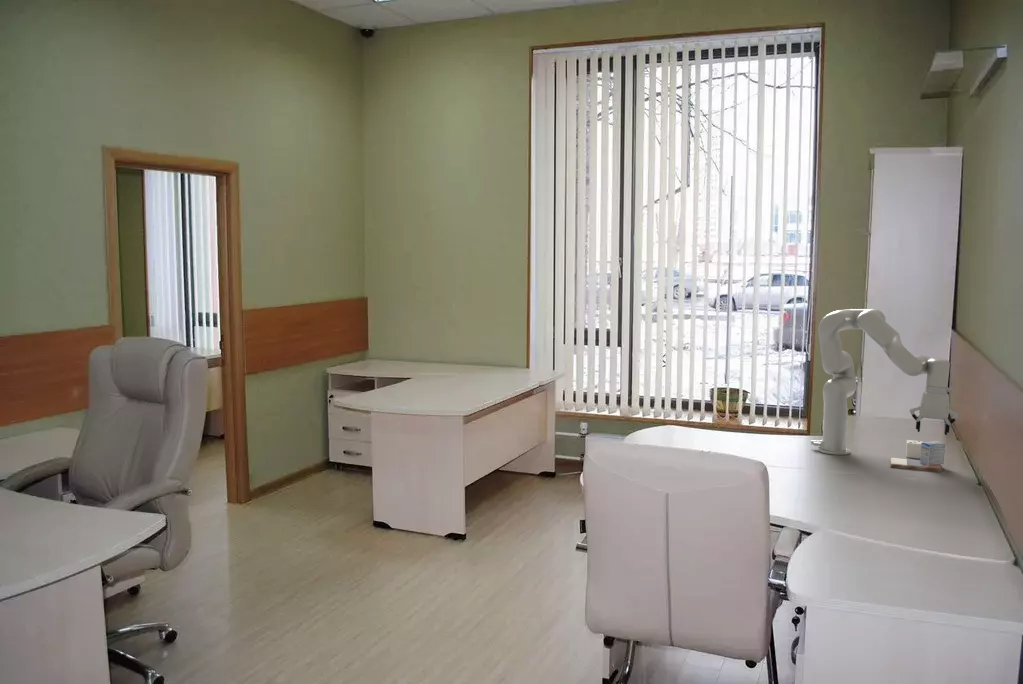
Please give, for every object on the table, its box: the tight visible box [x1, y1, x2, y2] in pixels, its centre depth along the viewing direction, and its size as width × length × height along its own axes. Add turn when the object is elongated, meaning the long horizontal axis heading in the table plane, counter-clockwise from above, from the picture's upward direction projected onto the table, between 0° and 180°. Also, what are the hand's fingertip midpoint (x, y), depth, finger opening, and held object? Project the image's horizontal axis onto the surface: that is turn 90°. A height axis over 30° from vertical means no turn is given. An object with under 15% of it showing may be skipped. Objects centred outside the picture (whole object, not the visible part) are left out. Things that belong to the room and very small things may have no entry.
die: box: [905, 439, 924, 459], centre depth 357 cm, size 6×6×6 cm
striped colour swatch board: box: [890, 457, 942, 473], centre depth 341 cm, size 18×12×1 cm, turn 66°
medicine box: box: [919, 440, 946, 466], centre depth 339 cm, size 8×4×9 cm, turn 110°
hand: (931, 432), depth 338 cm, fingers open, 9 cm apart
